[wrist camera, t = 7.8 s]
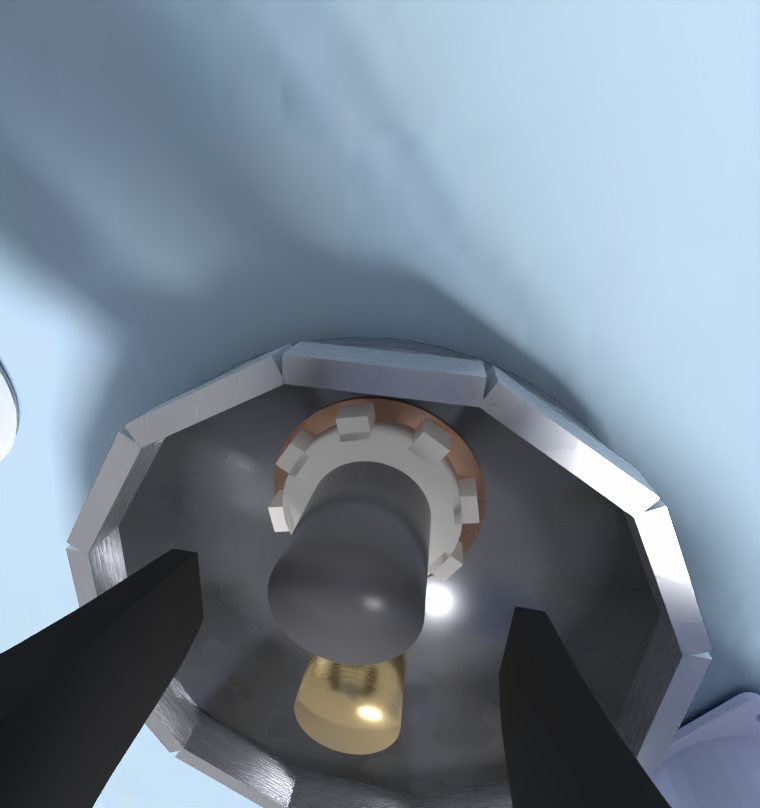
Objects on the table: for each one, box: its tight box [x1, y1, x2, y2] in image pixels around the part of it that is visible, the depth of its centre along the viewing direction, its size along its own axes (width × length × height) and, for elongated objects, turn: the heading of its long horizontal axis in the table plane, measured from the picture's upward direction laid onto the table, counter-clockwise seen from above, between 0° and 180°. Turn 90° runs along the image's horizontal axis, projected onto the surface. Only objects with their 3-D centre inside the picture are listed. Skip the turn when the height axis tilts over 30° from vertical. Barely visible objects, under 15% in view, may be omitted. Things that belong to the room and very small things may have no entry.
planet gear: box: [267, 403, 480, 665], centre depth 12 cm, size 6×6×4 cm
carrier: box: [66, 337, 713, 808], centre depth 16 cm, size 21×21×5 cm
